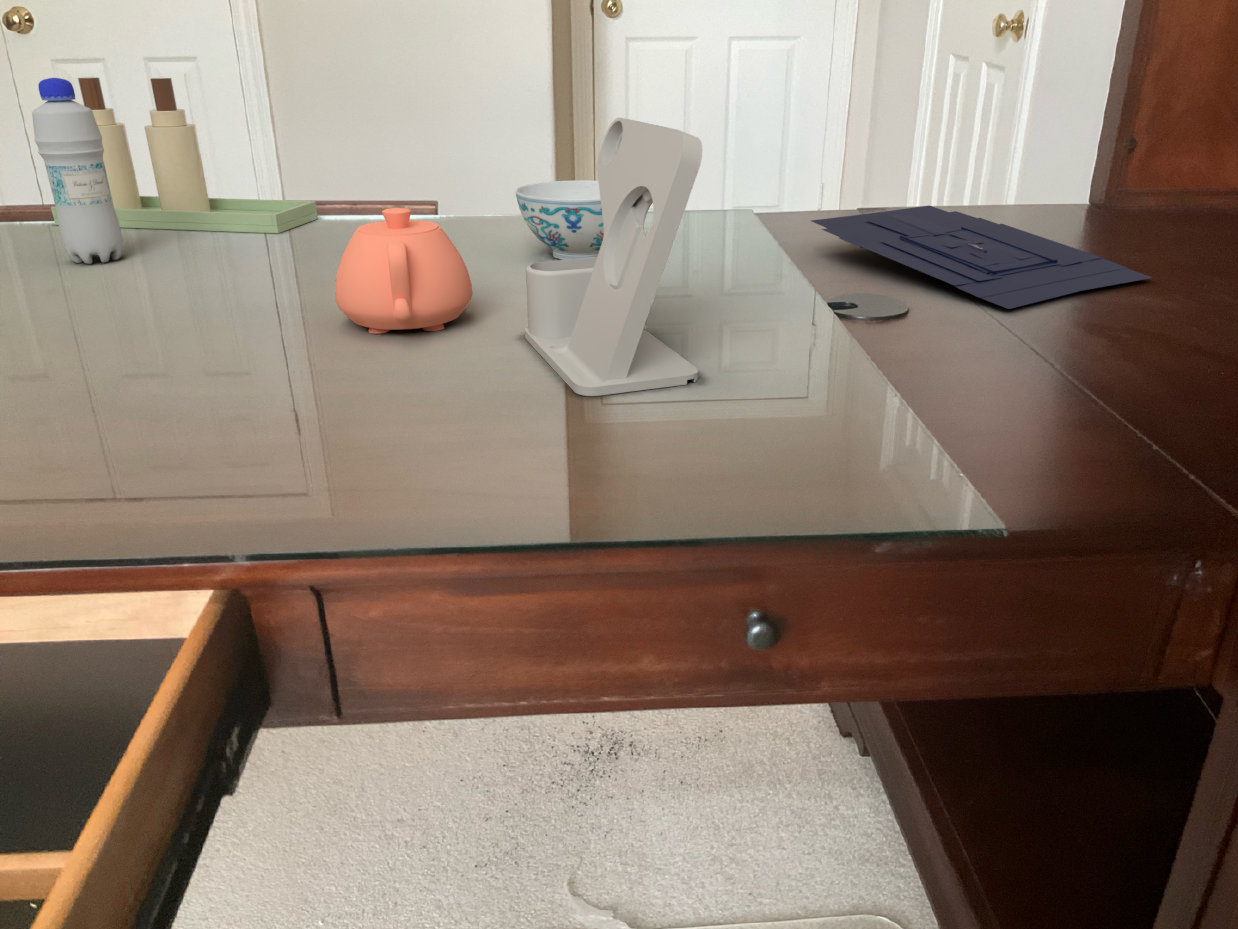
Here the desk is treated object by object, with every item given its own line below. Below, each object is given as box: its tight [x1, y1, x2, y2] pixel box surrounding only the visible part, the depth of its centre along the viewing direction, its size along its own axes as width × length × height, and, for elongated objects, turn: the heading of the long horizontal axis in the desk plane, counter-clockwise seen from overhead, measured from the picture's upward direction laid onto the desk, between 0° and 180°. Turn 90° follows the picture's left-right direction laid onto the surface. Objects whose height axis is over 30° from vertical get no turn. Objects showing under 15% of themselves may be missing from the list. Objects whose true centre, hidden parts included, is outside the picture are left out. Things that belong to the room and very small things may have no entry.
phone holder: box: [524, 117, 703, 397], centre depth 73 cm, size 17×10×18 cm, turn 20°
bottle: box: [31, 77, 124, 265], centre depth 106 cm, size 7×7×20 cm
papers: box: [810, 204, 1154, 310], centre depth 105 cm, size 24×30×4 cm
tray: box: [50, 195, 319, 234], centre depth 132 cm, size 34×11×2 cm, turn 79°
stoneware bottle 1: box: [77, 76, 143, 209], centre depth 130 cm, size 6×6×18 cm
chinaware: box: [514, 179, 604, 260], centre depth 110 cm, size 15×15×8 cm
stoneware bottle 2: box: [144, 77, 211, 212], centre depth 128 cm, size 6×6×18 cm
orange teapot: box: [334, 207, 473, 335], centre depth 83 cm, size 12×14×10 cm
